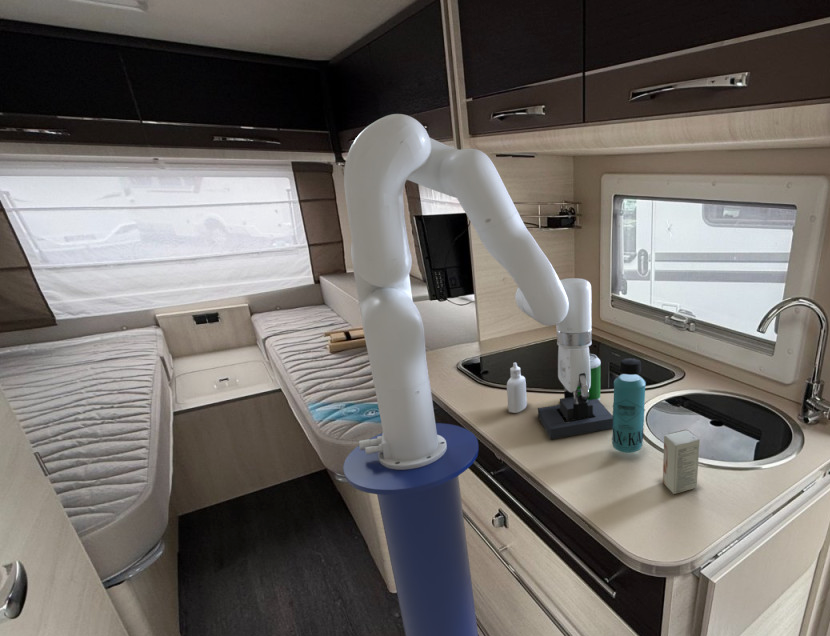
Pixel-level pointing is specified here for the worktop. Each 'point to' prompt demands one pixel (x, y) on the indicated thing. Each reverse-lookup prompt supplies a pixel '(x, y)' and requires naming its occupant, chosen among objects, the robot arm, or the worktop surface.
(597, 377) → the soda can
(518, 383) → the eye dropper bottle
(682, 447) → the medicine box
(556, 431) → the socket block
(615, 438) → the beverage bottle
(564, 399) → the black block
